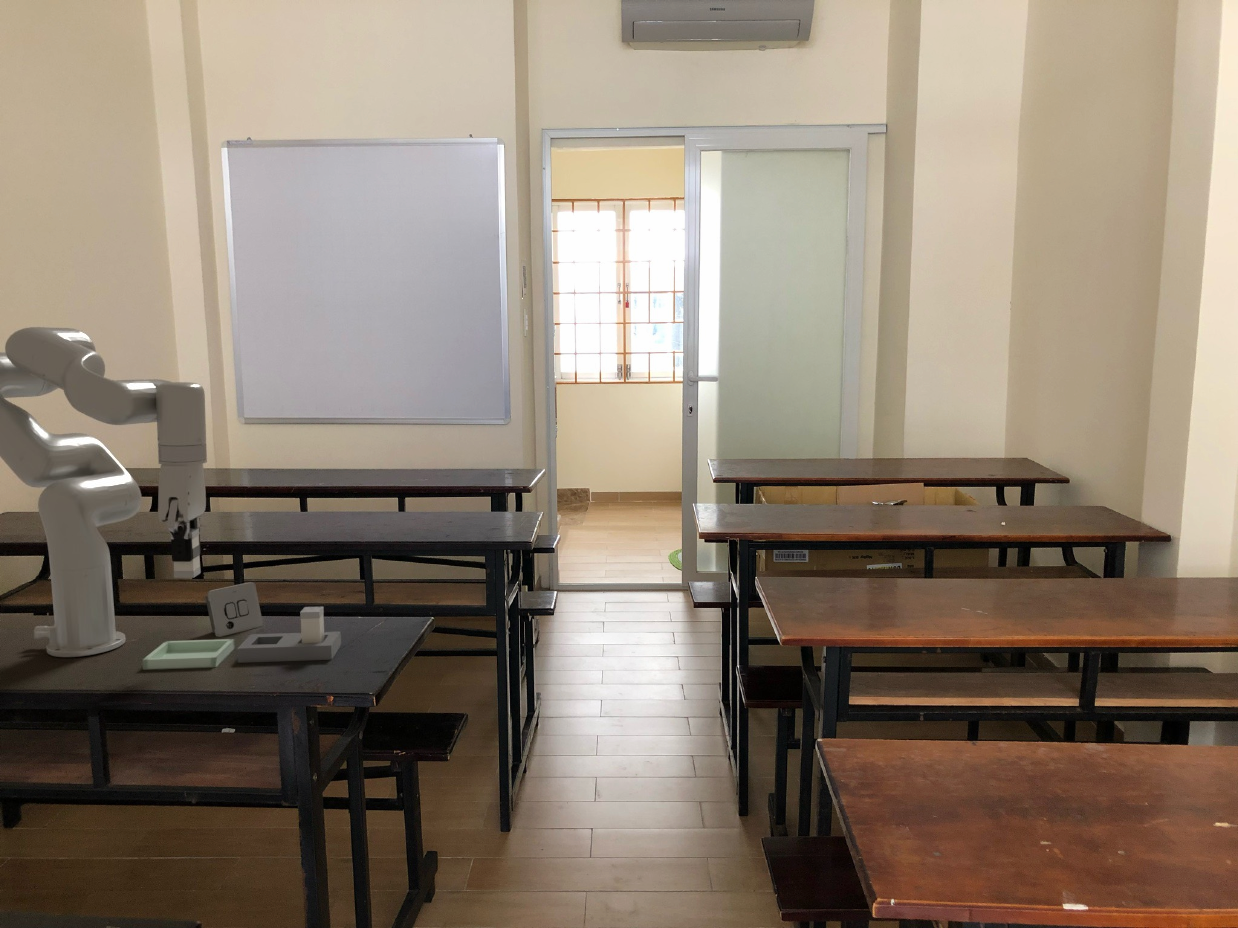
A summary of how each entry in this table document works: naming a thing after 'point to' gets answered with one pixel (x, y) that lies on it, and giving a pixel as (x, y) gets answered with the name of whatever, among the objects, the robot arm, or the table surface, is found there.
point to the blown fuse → (193, 566)
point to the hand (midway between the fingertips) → (186, 557)
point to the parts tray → (189, 654)
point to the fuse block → (287, 648)
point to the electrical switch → (234, 609)
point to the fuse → (312, 624)
